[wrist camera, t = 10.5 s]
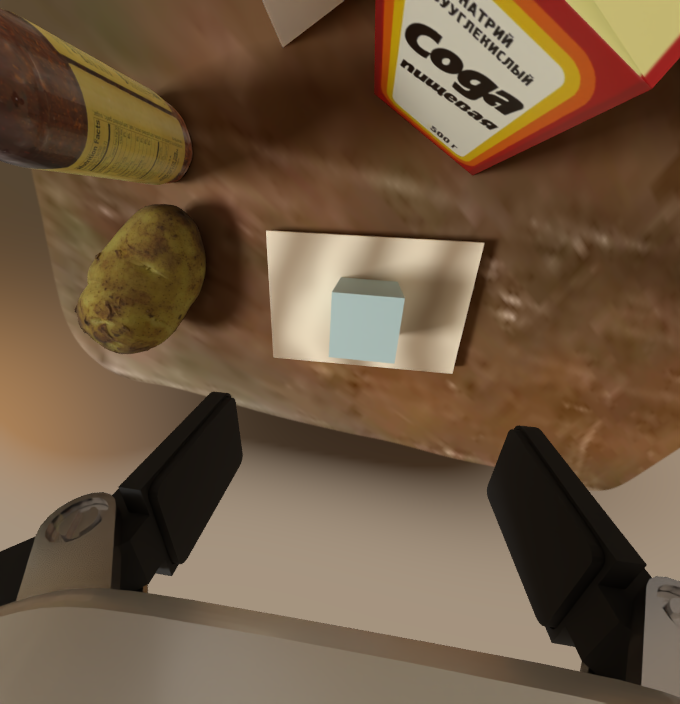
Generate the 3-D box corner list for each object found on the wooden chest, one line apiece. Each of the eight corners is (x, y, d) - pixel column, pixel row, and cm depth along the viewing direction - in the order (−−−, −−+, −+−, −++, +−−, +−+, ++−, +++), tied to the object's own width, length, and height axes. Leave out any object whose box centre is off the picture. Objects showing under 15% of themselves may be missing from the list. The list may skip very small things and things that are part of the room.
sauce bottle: (109, 121, 23) (-818, -239, 5) (167, 78, 21) (-888, -669, 4) (159, 203, 25) (-364, 155, 7) (214, 170, 24) (-280, 4, 6)
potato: (248, 267, 27) (202, 284, 20) (174, 343, 31) (114, 379, 24) (180, 192, 25) (100, 179, 18) (110, 285, 29) (24, 305, 22)
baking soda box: (374, 93, 21) (378, -214, 6) (435, -19, 18) (693, -1019, 4) (472, 175, 22) (664, 82, 8) (542, 82, 19) (1041, -336, 5)
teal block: (397, 281, 24) (404, 298, 19) (390, 335, 27) (394, 363, 21) (340, 277, 25) (331, 292, 19) (337, 330, 27) (328, 357, 21)
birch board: (478, 241, 24) (484, 243, 22) (448, 366, 29) (452, 373, 28) (271, 230, 25) (266, 230, 24) (277, 351, 30) (273, 357, 29)
